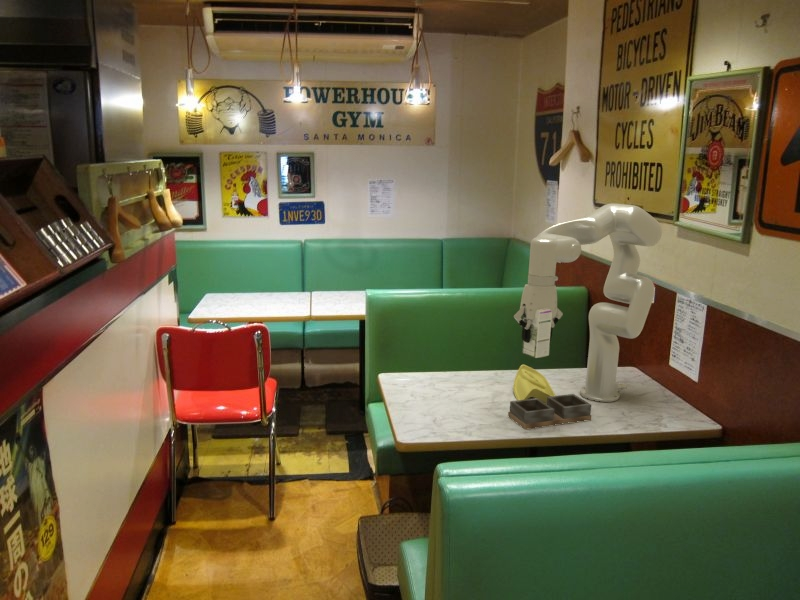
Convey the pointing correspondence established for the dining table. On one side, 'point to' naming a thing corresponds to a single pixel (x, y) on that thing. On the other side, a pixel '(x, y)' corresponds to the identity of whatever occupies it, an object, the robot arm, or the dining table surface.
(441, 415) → the dining table surface
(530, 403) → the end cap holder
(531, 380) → the plastic component
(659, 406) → the dining table surface
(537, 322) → the syrup box
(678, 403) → the dining table surface
